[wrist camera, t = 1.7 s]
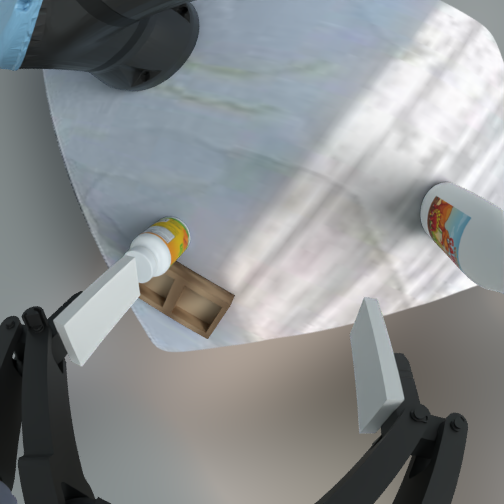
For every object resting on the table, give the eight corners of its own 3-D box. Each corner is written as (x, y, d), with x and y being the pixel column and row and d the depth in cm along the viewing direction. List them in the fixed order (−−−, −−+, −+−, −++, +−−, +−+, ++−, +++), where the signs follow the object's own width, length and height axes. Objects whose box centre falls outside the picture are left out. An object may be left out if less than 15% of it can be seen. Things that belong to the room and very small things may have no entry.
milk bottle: (436, 169, 27) (550, 227, 9) (474, 200, 27) (575, 272, 9) (408, 222, 30) (491, 324, 12) (447, 248, 30) (527, 347, 12)
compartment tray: (132, 280, 42) (124, 288, 39) (145, 241, 38) (136, 248, 36) (212, 328, 43) (207, 339, 40) (234, 295, 39) (230, 305, 37)
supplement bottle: (181, 259, 38) (149, 297, 29) (151, 238, 38) (112, 271, 29) (198, 230, 36) (165, 264, 27) (165, 208, 35) (124, 235, 27)
